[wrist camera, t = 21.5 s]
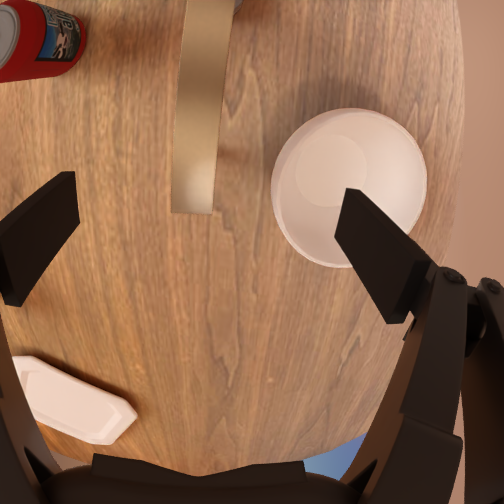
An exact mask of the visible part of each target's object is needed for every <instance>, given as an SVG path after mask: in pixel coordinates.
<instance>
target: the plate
mask: <svg viewBox="0 0 504 504" xmlns="http://www.w3.org/2000/svg"><path fill="white" fill-rule="evenodd" d="M12 359H13V362H14V366H15V369H16V372H17V375H18V378H19V380H20V383H21V386H22V389H23V391H24V394H25V397H26V399H27V402H28V404H29V407H30V409H31V412H32V414H33V416H34V419H35V420H37V421H40V422H42V423H44V424H46V425H48V426H50V427H52V428H54V429H57V430H59V431H61V432H64V433H66V434H68V435H71V436H73V437H75V438H78V439H80V440H83V441H86V442H88V443H91V444H103V445H110V444H113V442H114V441H115V440H116V439H117V438H118V437H119V436H120V435H121V434H122V433H123V432H124V431H125V430H126V429H127V428H128V427H129V426H130V425H131V424H132V423H133V422H134V421H135V420H136V418H137V417H138V414H137V413H136V412H135V410H134V409H133V408H132V407H131V405H130V404H129V403H128V402H127V400H125V399H124V398H121V397H118V396H116V395H114V394H111V393H109V392H106V391H104V390H102V389H99V388H97V387H95V386H92V385H90V384H88V383H86V382H84V381H81V380H79V379H77V378H75V377H73V376H71V375H69V374H67V373H65V372H63V371H61V370H59V369H57V368H55V367H53V366H51V365H49V364H47V363H45V362H43V361H41V360H40V359H38V358H36V357H34V356H13V357H12Z"/></svg>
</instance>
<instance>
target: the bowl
mask: <svg viewBox="0 0 504 504" xmlns="http://www.w3.org/2000/svg"><path fill="white" fill-rule="evenodd" d="M346 188H352V189H359V190H361V191H362V192H363V193H364V194H365V195H366V196H367V197H368V198H369V199H371V200H372V201H373V202H374V203H375V204H376V205H377V206H378V207H379V208H380V209H381V210H382V211H383V212H384V213H385V214H386V215H387V216H388V217H389V218H391V219H392V220H393V221H394V222H395V223H396V224H397V225H398V226H399V227H400V228H401V229H402V230H403V231H404V232H405V233H406V234H407V235H408V234H409V233H410V231H411V230H412V228H413V227H414V225H415V223H416V222H417V220H418V218H419V215H420V213H421V211H422V208H423V205H424V201H425V197H426V191H427V171H426V164H425V161H424V158H423V155H422V152H421V150H420V148H419V146H418V144H417V142H416V141H415V139H414V138H413V137H412V136H411V134H410V133H409V132H408V131H407V130H406V129H405V128H404V127H403V126H401V125H400V124H399V123H397V122H396V121H394V120H393V119H391V118H389V117H388V116H385V115H383V114H380V113H378V112H376V111H372V110H366V109H360V108H342V109H335V110H331V111H328V112H324V113H321V114H319V115H318V116H316V117H314V118H312V119H310V120H308V121H307V122H305V123H304V124H303V125H302V126H301V127H299V128H298V129H297V130H296V131H295V132H294V133H293V134H292V135H291V137H290V138H289V139H288V140H287V142H286V143H285V144H284V146H283V148H282V150H281V151H280V153H279V155H278V157H277V159H276V162H275V166H274V169H273V173H272V179H271V198H272V206H273V211H274V215H275V217H276V220H277V223H278V226H279V228H280V229H281V231H282V232H283V234H284V236H285V237H286V239H287V240H288V242H289V243H290V244H291V245H292V246H293V247H294V248H295V249H296V250H297V251H298V252H299V253H300V254H301V255H303V256H304V257H306V258H307V259H309V260H310V261H313V262H315V263H318V264H321V265H323V266H328V267H335V268H351V267H353V266H352V265H351V263H350V262H349V260H348V258H347V257H346V255H345V254H344V252H343V251H342V249H341V247H340V246H339V244H338V243H337V241H336V240H335V238H334V235H335V231H336V227H337V223H338V219H339V215H340V211H341V207H342V203H343V198H344V194H345V190H346Z"/></svg>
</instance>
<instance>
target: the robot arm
mask: <svg viewBox="0 0 504 504" xmlns="http://www.w3.org/2000/svg"><path fill="white" fill-rule="evenodd" d="M79 224H80V219H79V210H78V201H77V190H76V178H75V171H65V172H60V173H59V174H58V175H56V176H55V177H54V178H52V179H51V180H50V181H48V182H47V183H46V184H44V185H43V186H42V187H41V188H39V189H38V190H37V191H36V192H34V193H33V194H32V195H31V196H29V197H28V198H27V199H26V200H24V201H23V202H22V203H21V204H20V205H18V206H17V207H16V208H15V209H14V210H13V211H11V212H10V213H9V214H8V215H7V216H6V217H5V218H3V219H2V220H1V221H0V292H1V295H2V297H3V300H4V303H5V305H10V306H16V307H21V306H22V304H23V303H24V301H25V300H26V298H27V296H28V295H29V293H30V292H31V290H32V289H33V287H34V286H35V284H36V283H37V281H38V280H39V278H40V277H41V275H42V274H43V272H44V271H45V269H46V268H47V267H48V265H49V264H50V262H51V261H52V260H53V258H54V257H55V255H56V254H57V253H58V251H59V250H60V249H61V247H62V246H63V245H64V243H65V242H66V241H67V239H68V238H69V237H70V235H71V234H72V233H73V232H74V230H75V229H76V228H77V226H78V225H79ZM334 238H335V240H336V241H337V243H338V244H339V246H340V247H341V249H342V251H343V252H344V254H345V255H346V257H347V258H348V260H349V262H350V263H351V265H352V266H353V268H354V270H355V271H356V273H357V275H358V276H359V278H360V280H361V281H362V283H363V284H364V286H365V288H366V289H367V291H368V293H369V294H370V296H371V298H372V300H373V301H374V303H375V305H376V306H377V308H378V310H379V311H380V313H381V315H382V317H383V318H384V320H385V322H386V324H400V323H404V321H405V319H406V317H407V315H408V313H409V311H411V313H412V314H413V316H414V319H413V321H412V323H411V325H410V326H409V328H408V330H407V332H406V334H405V336H404V338H403V340H404V341H405V342H404V345H403V348H402V351H401V354H400V357H399V359H398V362H397V365H396V367H395V370H394V373H393V375H392V378H391V380H390V383H389V385H388V388H387V390H386V392H385V395H384V397H383V400H382V402H381V404H380V406H379V409H378V411H377V413H376V415H375V418H374V420H373V422H372V424H371V426H370V428H369V430H368V432H367V434H366V437H365V439H364V441H363V443H362V445H361V447H360V448H359V450H358V452H357V454H356V456H355V458H354V460H353V462H352V464H351V465H350V467H349V468H348V470H347V471H346V473H345V474H344V475H343V476H342V478H341V479H340V480H339V481H338V480H336V479H333V478H330V477H327V476H324V475H320V474H315V473H310V472H305V467H304V462H303V460H302V461H293V462H282V463H269V464H252V465H248V466H245V467H241V468H237V469H233V470H229V471H225V472H220V473H216V474H211V475H206V476H199V477H197V476H191V475H187V474H184V473H180V472H177V471H173V470H170V469H167V468H164V467H161V466H158V465H155V464H152V463H149V462H146V461H143V460H135V459H128V458H121V457H114V456H108V455H103V454H97V453H94V454H93V460H92V465H83V466H77V467H73V468H70V469H66V470H64V471H62V469H61V468H60V466H59V465H58V464H57V462H56V461H55V460H54V458H53V456H52V455H51V453H50V451H49V449H48V447H47V445H46V443H45V441H44V439H43V436H42V434H41V432H40V430H39V428H38V426H37V423H36V421H35V419H34V416H33V414H32V412H31V409H30V407H29V404H28V402H27V399H26V397H25V394H24V391H23V389H22V386H21V383H20V380H19V378H18V375H17V372H16V369H15V366H14V362H13V359H12V356H11V353H10V349H9V346H8V342H7V339H6V335H5V331H4V327H3V323H2V319H1V314H0V504H448V503H449V499H450V497H451V493H452V490H453V486H454V482H455V479H456V475H457V471H458V467H459V463H460V459H461V454H462V449H463V440H462V439H461V437H459V436H456V435H454V434H453V430H454V425H455V420H456V414H457V409H458V403H459V397H460V390H461V397H462V407H463V420H464V437H465V493H464V496H465V497H464V501H465V502H464V504H504V288H503V287H502V286H501V284H500V283H499V282H497V281H496V280H494V279H493V280H492V279H490V278H486V277H485V278H482V279H481V281H480V283H479V285H478V287H477V288H475V287H472V286H468V285H467V281H466V279H465V278H464V277H463V276H462V275H461V274H460V273H459V272H457V271H456V270H454V269H451V268H448V267H443V266H442V267H438V265H437V264H436V263H435V262H434V261H433V260H432V259H431V258H430V257H429V256H428V255H427V254H426V253H425V251H424V250H423V249H421V247H420V246H419V245H418V244H417V243H416V242H415V241H414V240H412V239H411V238H410V237H409V236H408V235H407V234H406V233H405V232H404V231H403V230H402V229H401V228H400V227H399V226H398V225H397V224H396V223H395V222H394V221H393V220H392V219H391V218H389V217H388V216H387V215H386V214H385V213H384V212H383V211H382V210H381V209H380V208H379V207H378V206H377V205H376V204H375V203H374V202H373V201H372V200H371V199H369V198H368V197H367V196H366V195H365V194H364V193H363V192H362V191H361V190H359V189H352V188H346V190H345V194H344V198H343V203H342V207H341V211H340V215H339V219H338V223H337V227H336V231H335V235H334Z"/></svg>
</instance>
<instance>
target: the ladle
mask: <svg viewBox="0 0 504 504" xmlns="http://www.w3.org/2000/svg"><path fill="white" fill-rule="evenodd" d="M242 2H243V0H188V1H187V8H186V14H185V22H184V29H183V37H182V45H181V53H180V62H179V72H178V82H177V93H176V106H175V119H174V135H173V154H172V180H171V213H183V214H203V215H212V214H213V201H214V188H215V176H216V164H217V153H218V142H219V132H220V122H221V112H222V102H223V93H224V84H225V76H226V68H227V59H228V51H229V44H230V36H231V29H232V21H233V14H235V13H236V12H237V11H238V10H239V9H240V7H241V5H242Z"/></svg>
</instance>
